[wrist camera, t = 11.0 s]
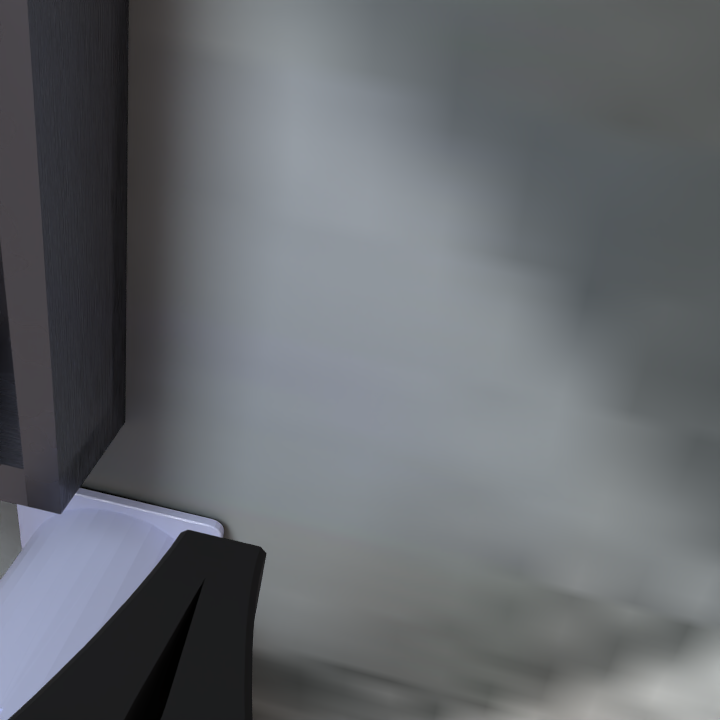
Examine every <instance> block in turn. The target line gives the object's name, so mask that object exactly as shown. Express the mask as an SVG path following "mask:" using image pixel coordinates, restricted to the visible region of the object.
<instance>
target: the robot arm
mask: <svg viewBox="0 0 720 720" xmlns="http://www.w3.org/2000/svg"><path fill="white" fill-rule="evenodd" d="M17 512H18V520H19V529H20V538H21V546H22V551H21V552H20V553H19V555H18V556H17V558H16V559H15V560H14V562H13V563H12V565H11V566H10V567H9V569H8V570H7V572H6V573H5V574H4V576H3V577H2V578H1V580H0V720H252V646H253V628H254V619H255V613H256V608H257V602H258V597H259V591H260V586H261V580H262V575H263V569H264V564H265V558H266V552H265V551H264V550H263V549H262V548H261V547H259V546H255V545H251V544H247V543H242V542H238V541H234V540H230V539H226V538H223V535H224V528H223V526H222V525H221V524H220V523H219V522H218V521H216V520H213V519H210V518H206V517H201V516H197V515H193V514H189V513H185V512H180V511H176V510H172V509H168V508H163V507H159V506H155V505H151V504H147V503H142V502H138V501H134V500H130V499H125V498H121V497H117V496H113V495H109V494H104V493H100V492H96V491H92V490H87V489H83V488H79V489H78V491H77V492H76V494H75V495H74V496H73V498H72V499H71V501H70V502H69V504H68V505H67V506H66V508H65V509H64V511H63V512H62V514H57V513H52V512H48V511H44V510H40V509H35V508H31V507H27V506H23V505H19V504H17Z"/></svg>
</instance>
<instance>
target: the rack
mask: <svg viewBox="0 0 720 720" xmlns="http://www.w3.org/2000/svg"><path fill="white" fill-rule="evenodd" d="M127 121H128V0H0V500H2V501H6V502H10V503H14V504H19V505H23V506H27V507H31V508H35V509H40V510H44V511H48V512H52V513H57V514H62V512H63V511H64V509H65V508H66V506H67V505H68V504H69V502H70V501H71V499H72V498H73V496H74V495H75V494H76V492H77V491H78V489H79V488H80V486H81V485H82V483H83V482H84V481H85V479H86V478H87V476H88V475H89V473H90V472H91V471H92V469H93V468H94V466H95V465H96V463H97V462H98V460H99V459H100V458H101V456H102V455H103V453H104V452H105V450H106V449H107V447H108V446H109V445H110V443H111V442H112V440H113V439H114V437H115V436H116V435H117V433H118V432H119V430H120V429H121V427H122V426H123V424H124V423H125V366H126V244H127Z"/></svg>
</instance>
